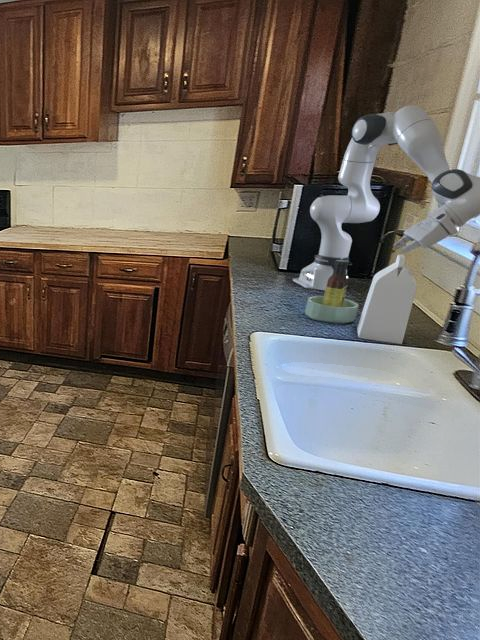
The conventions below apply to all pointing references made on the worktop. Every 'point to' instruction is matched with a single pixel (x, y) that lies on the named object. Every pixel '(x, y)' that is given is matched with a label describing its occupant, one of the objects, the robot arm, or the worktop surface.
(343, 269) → the sauce bottle
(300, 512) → the worktop surface
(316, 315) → the bowl
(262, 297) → the worktop surface
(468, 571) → the worktop surface
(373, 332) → the milk
